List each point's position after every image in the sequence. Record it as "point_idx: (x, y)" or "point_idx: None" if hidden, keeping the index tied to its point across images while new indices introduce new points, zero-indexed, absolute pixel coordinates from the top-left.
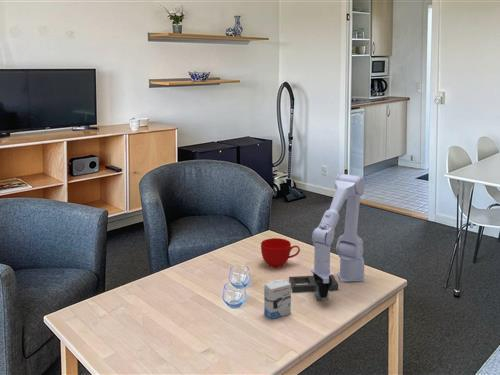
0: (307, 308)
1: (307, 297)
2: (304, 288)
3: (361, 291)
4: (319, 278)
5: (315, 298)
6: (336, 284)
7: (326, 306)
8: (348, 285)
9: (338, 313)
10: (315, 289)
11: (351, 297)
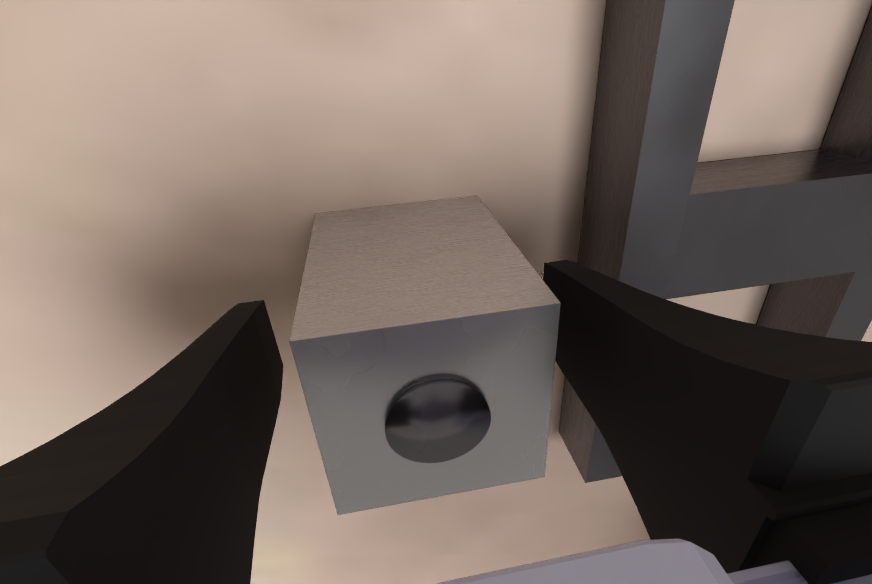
0: (25, 39)
1: (422, 91)
2: (630, 67)
3: (506, 560)
4: (629, 401)
5: (386, 206)
6: (590, 468)
7: (179, 319)
8: (622, 494)
9: (31, 424)
10: (414, 259)
11: (409, 512)
